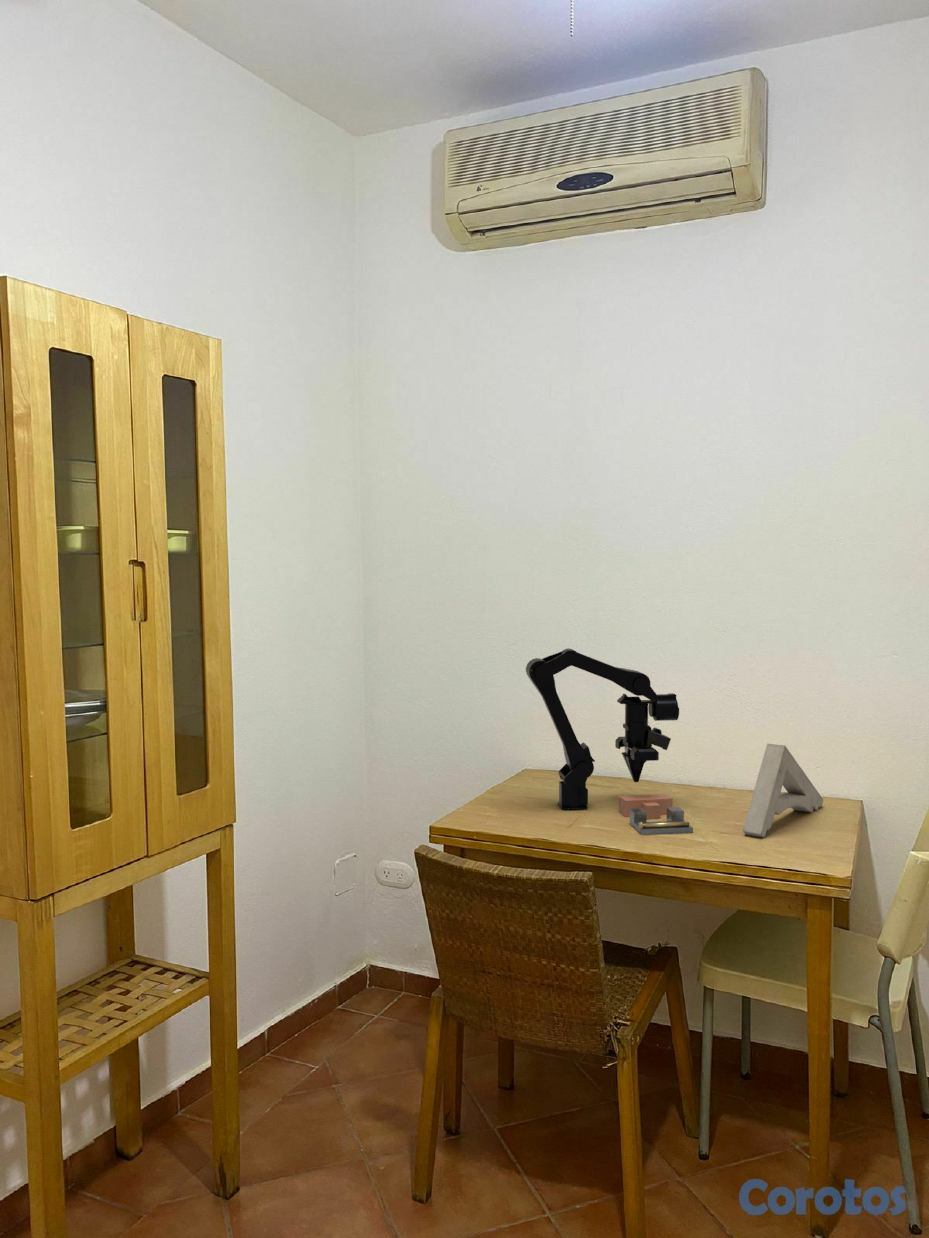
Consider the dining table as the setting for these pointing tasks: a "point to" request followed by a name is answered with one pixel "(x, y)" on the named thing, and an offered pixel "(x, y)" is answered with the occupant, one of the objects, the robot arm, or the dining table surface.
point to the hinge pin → (662, 824)
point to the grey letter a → (779, 790)
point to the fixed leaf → (672, 816)
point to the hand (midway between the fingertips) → (636, 781)
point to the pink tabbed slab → (646, 804)
